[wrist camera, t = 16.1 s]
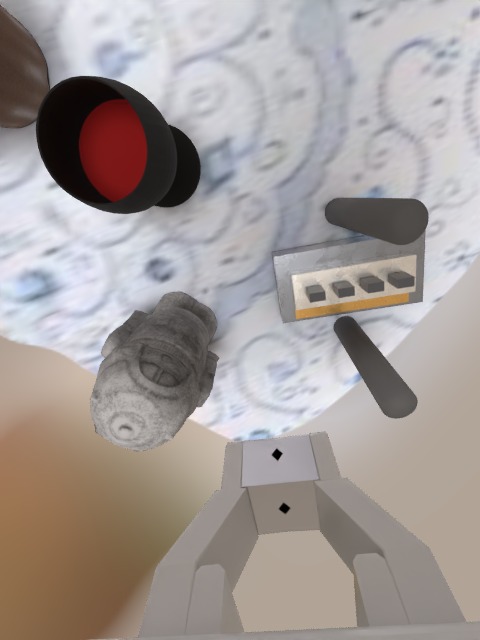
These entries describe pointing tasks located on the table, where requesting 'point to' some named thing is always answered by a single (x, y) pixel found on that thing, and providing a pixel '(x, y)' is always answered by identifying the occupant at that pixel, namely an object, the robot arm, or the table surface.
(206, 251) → the table surface
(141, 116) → the wine glass
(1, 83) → the plant pot
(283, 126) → the table surface
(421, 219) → the disc
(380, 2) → the table surface
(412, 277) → the breaker paddles
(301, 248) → the breaker panel
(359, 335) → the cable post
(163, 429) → the figurine
